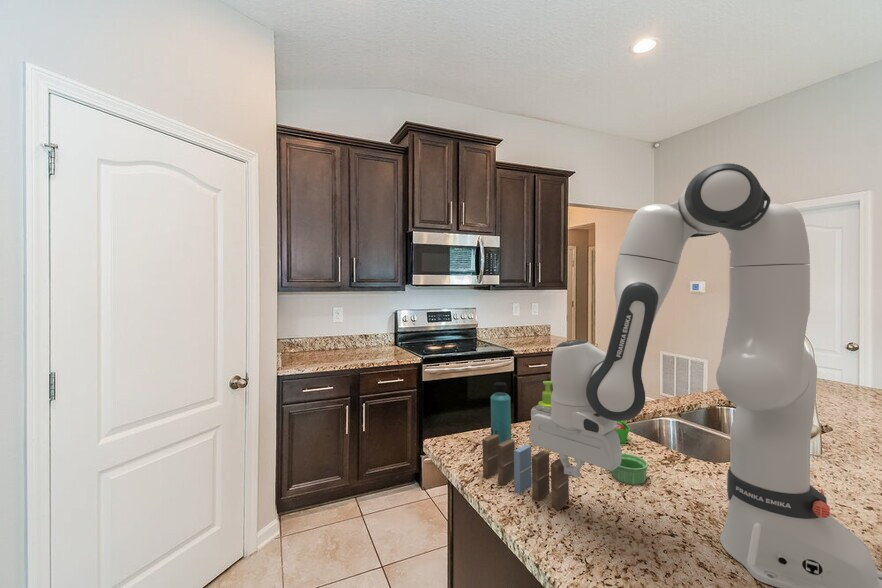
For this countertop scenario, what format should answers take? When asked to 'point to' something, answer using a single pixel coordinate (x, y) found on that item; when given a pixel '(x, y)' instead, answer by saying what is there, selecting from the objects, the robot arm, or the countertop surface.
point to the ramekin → (631, 469)
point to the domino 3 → (522, 468)
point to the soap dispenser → (546, 395)
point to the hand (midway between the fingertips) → (571, 475)
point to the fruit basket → (622, 431)
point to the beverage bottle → (501, 412)
